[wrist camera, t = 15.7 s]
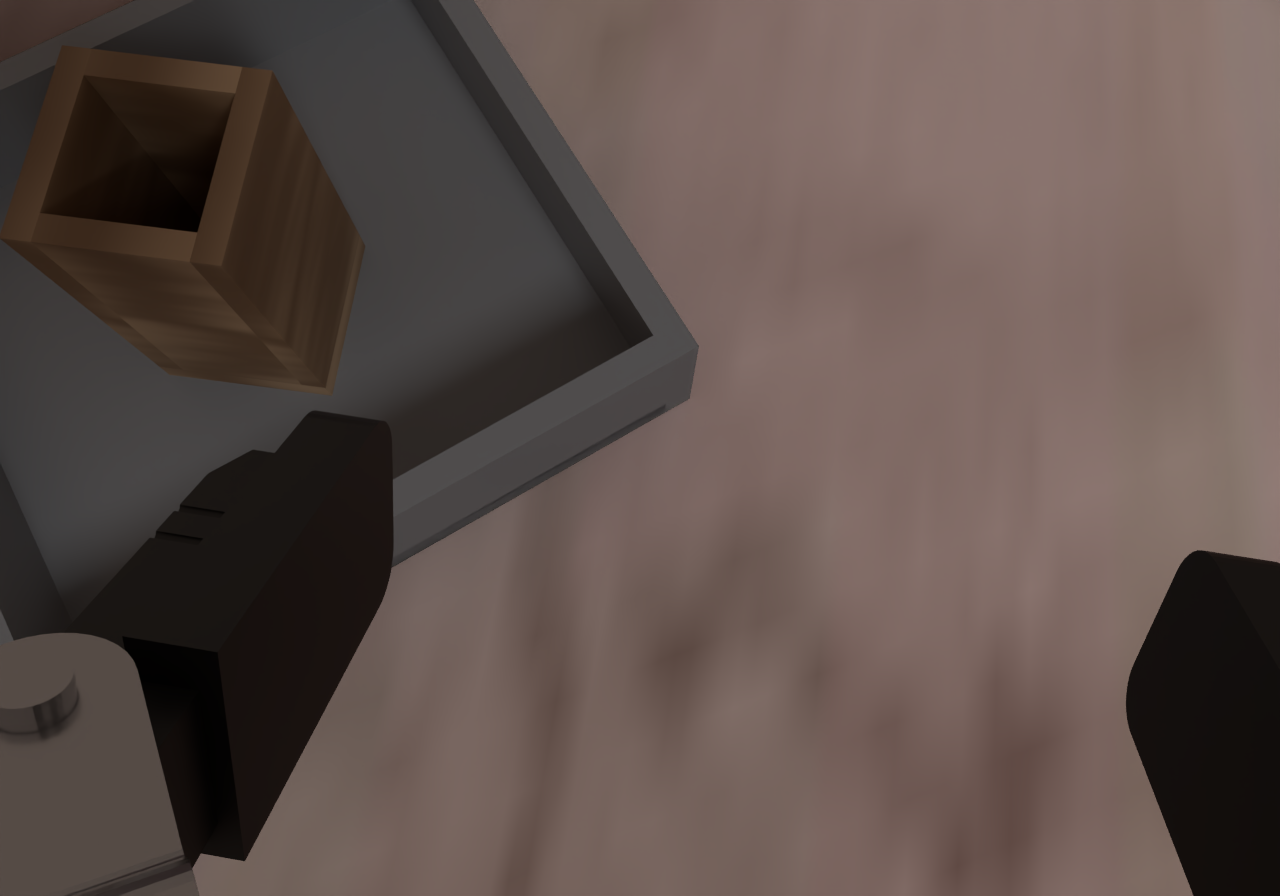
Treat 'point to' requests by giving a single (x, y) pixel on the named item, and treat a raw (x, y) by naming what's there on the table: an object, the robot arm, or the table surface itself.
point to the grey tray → (382, 307)
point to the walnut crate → (189, 218)
